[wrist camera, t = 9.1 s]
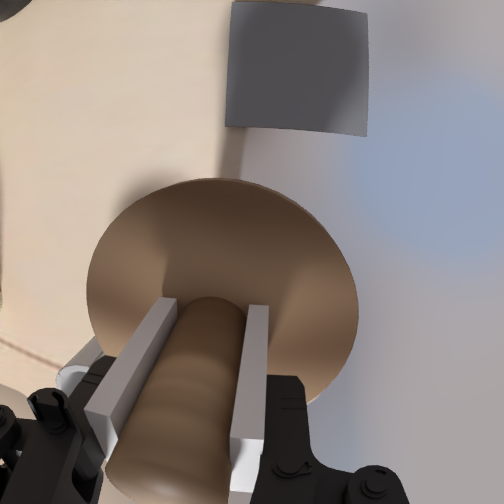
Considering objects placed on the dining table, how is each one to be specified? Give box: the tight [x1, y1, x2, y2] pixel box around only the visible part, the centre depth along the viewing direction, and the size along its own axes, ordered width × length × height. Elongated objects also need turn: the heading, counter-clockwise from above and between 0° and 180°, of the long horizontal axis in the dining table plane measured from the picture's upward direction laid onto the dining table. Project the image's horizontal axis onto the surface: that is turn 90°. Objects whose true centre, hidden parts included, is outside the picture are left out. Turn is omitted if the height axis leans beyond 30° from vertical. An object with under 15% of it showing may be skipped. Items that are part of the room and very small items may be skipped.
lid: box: [87, 178, 359, 504], centre depth 10 cm, size 12×12×9 cm
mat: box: [225, 2, 369, 137], centre depth 24 cm, size 12×12×1 cm
